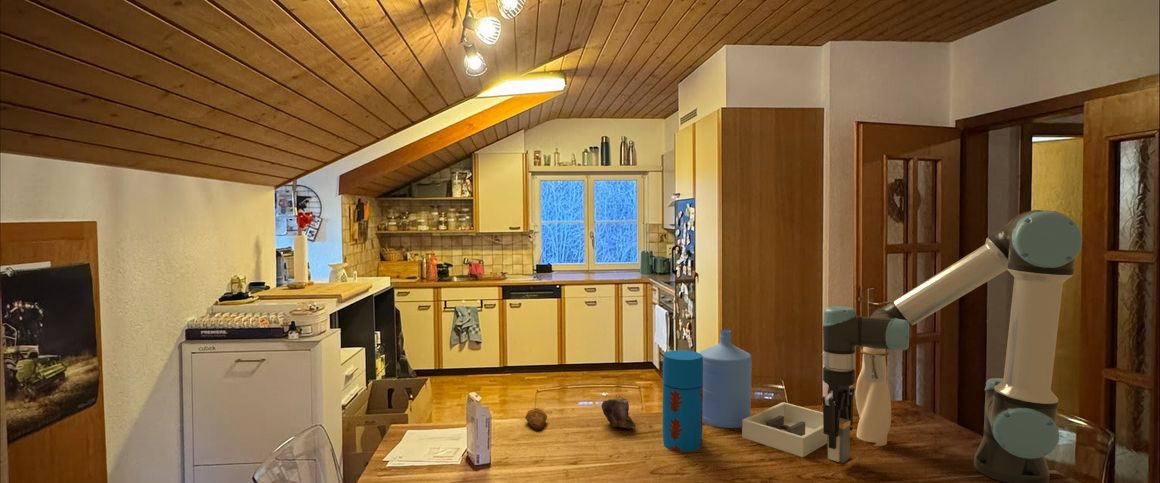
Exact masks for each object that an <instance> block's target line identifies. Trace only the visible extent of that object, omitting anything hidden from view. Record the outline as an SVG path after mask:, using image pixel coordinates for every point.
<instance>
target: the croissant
mask: <svg viewBox="0 0 1160 483" xmlns="http://www.w3.org/2000/svg"><path fill="white" fill-rule="evenodd" d="M524 418H525V420H526V421H527V423H528V424H529V426H530V427H531V428H532V429H533V430H535V431H538V432H539V431H542V430H543V428H544V427H545V424H546V422H547V419H548V415H547V414H546V412H545V411H544V409H541V408H537V407H536V408H534V409H529V410H528V411H527V414H526V415H525V417H524Z"/></svg>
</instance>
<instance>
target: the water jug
mask: <svg viewBox="0 0 1160 483" xmlns="http://www.w3.org/2000/svg"><path fill="white" fill-rule="evenodd" d="M719 332H720V335H719V338H720V339H719V340H720V342H719V343H718V344H715V345H713V346H709V347H708V348H705V349H702V350H701V351H700V352H699V353H700V354H701V355H702V357H703V420H702V425H709V426H711V427H717V428H723V429H724V428H725V429H726V428H727V429H735V428H736V429H737V428H742V420H743V419H745V418H748V417H750V416H752V414H751V413H752V412H751V409H752V405H751V404H752V370H753V361H752V355H751V353H749V352H748V351H745V350H744V349H741V348H740V347H737V346H736V345H734V344H732V342H731V339H732V336H731V333H732V330H730V329H720V330H719Z"/></svg>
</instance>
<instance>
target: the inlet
mask: <svg viewBox="0 0 1160 483" xmlns="http://www.w3.org/2000/svg"><path fill="white" fill-rule="evenodd" d="M766 426H769V427H773V428H776V429H779V430H781V429H783V430H787V432H789V433H793V434H796V435H799V436H803V435H805V422H803V421H801V422H799V423H797V424H795V425H793V426H791V427H790V426H787V425H784V416H781V415H779V416H777V417H775V418H773V419H771V420H769V421H766Z"/></svg>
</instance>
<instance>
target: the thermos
mask: <svg viewBox="0 0 1160 483" xmlns="http://www.w3.org/2000/svg"><path fill="white" fill-rule="evenodd" d="M702 420H703V357H702V355H701V354H700V352H697V351H693V350H684V349H683V350H682V349H681V350H679V349H677V350H668V351H666V352H664V354H663V356H662V444H663V445H664V447H666V448H667V449H669V450H672V451H677V452H684V453H686V452H687V453H688V452H694V451H698V450H699V449H701V448H702V441H703V423H702Z"/></svg>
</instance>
